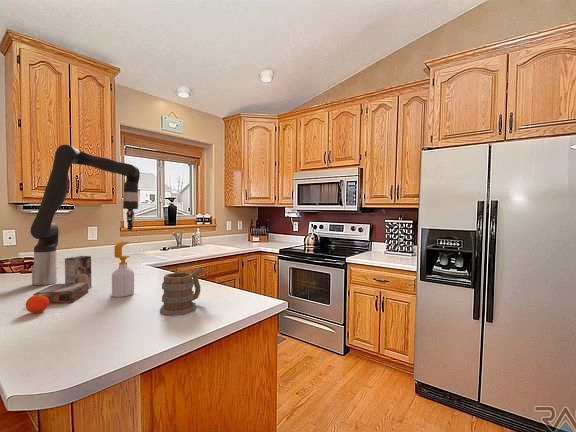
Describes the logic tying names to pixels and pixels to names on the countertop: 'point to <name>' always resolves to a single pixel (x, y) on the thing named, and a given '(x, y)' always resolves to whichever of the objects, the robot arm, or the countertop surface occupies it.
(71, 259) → the coffee box
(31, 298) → the clementine
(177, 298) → the tankard
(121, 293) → the soap bottle
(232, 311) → the countertop surface
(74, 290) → the dock
